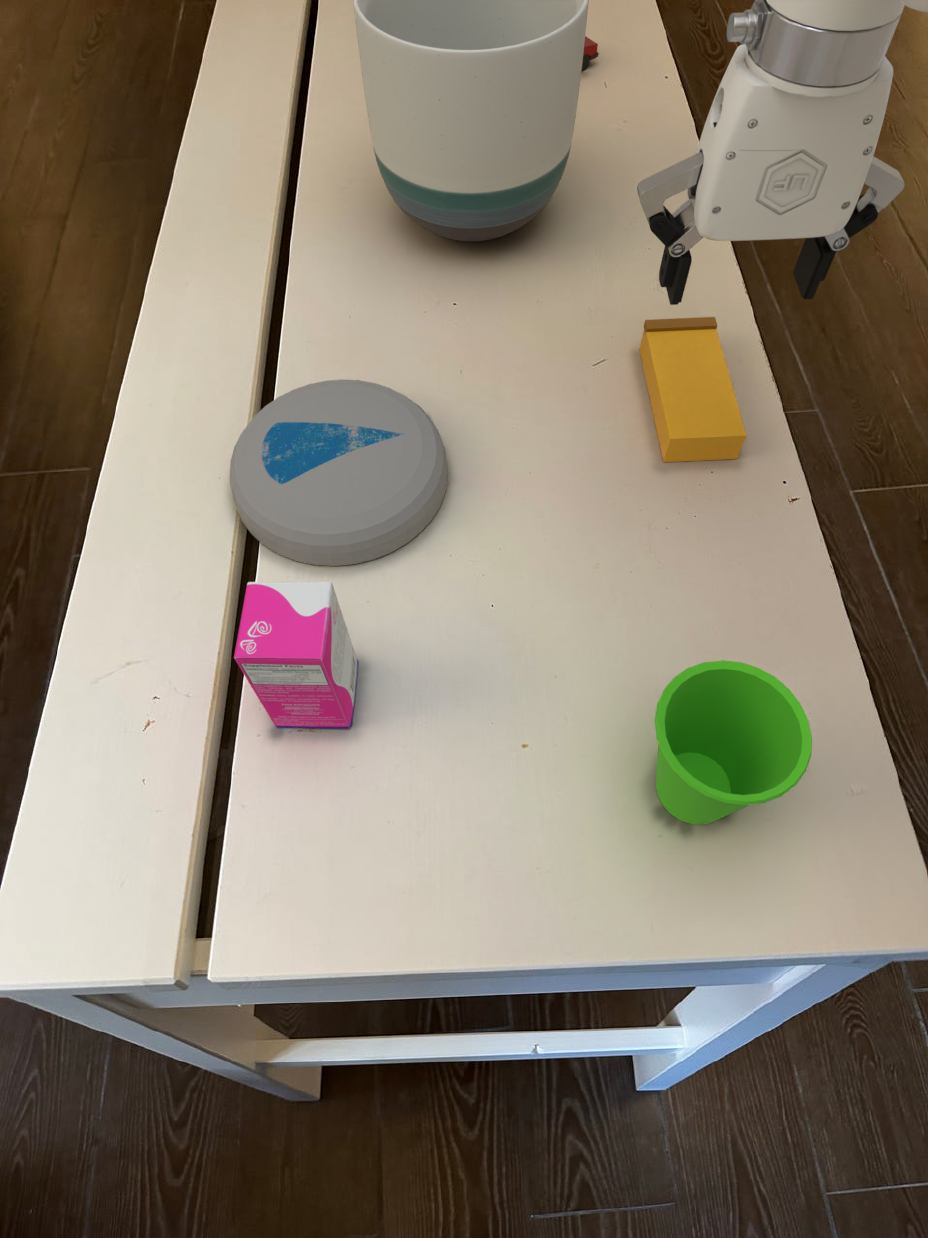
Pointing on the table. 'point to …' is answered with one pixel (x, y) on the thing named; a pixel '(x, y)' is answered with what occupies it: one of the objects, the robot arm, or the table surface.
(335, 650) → the supplement box
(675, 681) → the cup
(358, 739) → the table surface
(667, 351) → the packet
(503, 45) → the planter
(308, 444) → the grey frisbee
